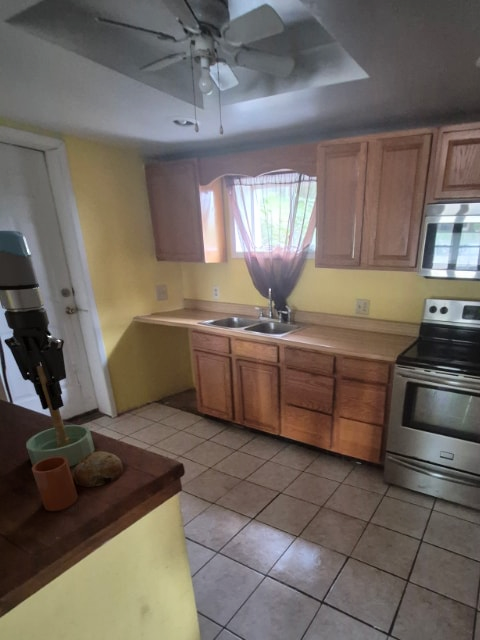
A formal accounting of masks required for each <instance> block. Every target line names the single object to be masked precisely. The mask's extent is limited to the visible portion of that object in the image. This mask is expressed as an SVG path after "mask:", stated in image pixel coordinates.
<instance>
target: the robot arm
mask: <svg viewBox="0 0 480 640" xmlns="http://www.w3.org/2000/svg"><path fill="white" fill-rule="evenodd" d="M32 256H33V254H32V252H31V250H30V247H29V244H28V241H27V238H26V236H25V235H24V234H23V233H22V232H20V231H18V230H0V305H1V306H0V307H1V308H2V309H4V310H5V311H4V313H3V314H4V318H5V321H6V324H7V327H8V328H9V329H11V330H12V336H11V337H8V338H5V339H4V340H3V341H4V344H5V345H6V346H7V347H8V349H9V350H10V352H11V355H12V357H13V359H14V361H15V364H16V366H17V368H18V370H19V373H20V375H21V377H22V379H23V380H24V381H30V382H31V384H33V388H34V390H35V394H36V395H37V396H38V398H39V401H40V405H41V409H42V410H49V408H48V405H47V401H46V398H45V395H44V391H43V388H42V384H41V381H40V378H39V374H38V371H37V367H38V366H42V368H43V371H44V374H45V376H46V379H47V381H48V382H47V383H45V386H46V389H47V392H48V396H49V399H50V403H51V406H52V409H53V410H57V409H59V410H60V409H61V408H62V407H65V406H64V401H63V398H62V395H63V391H62V386H61V381H63V380H65V379H67V371H66V364H65V357H64V349H63V348H64V343H65V340H64V339H63V338H57V337H54V336H53V335H52V333H51V331H50V329H49V324H50V320H49V316H48V313H47V309H45V308H44V305H45V302H44V299H43V295H42V291H41V287H40V284H39V282H38V278H37V277H38V276H37V274H36V269H35V265H34V260H33V257H32Z"/></svg>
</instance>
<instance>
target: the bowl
mask: <svg viewBox="0 0 480 640" xmlns="http://www.w3.org/2000/svg"><path fill="white" fill-rule="evenodd" d="M64 428H65V432H66V435H67V438H69V439H70V443H71V444H70V445H68V446H64V447H61V448H58V444H57V441H56V438H57V435H56V431H55V428H54V427H51V428H48V429H45V430H43V431H39V432H38V433H36V434H34V435H33V436H31V437H30V438H29V439H28V440H27V441H26V443H25V446H26V450H27V454H28V456H29V459H30V463H31V466H33V465H34V464H36V463H37V462H39V461H41V460H43V459H46V458H50V457H55V456H62V457H65V458H66V459H67V461H68V464H69V468H70V467H73V466H77V465H78V464H79V463H80V461H81V460H82V459H83V458H84V457H85V456H86V455H88V454H90V453H93V452H95V445H94V441H93V438H92V434H91V430H90V428H89V427H87V426H84V425H81V424H68V425H67V424H66V425H64Z"/></svg>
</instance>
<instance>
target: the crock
mask: <svg viewBox="0 0 480 640" xmlns="http://www.w3.org/2000/svg"><path fill="white" fill-rule="evenodd" d="M71 471H72V470H71V468H70V467H69V464H68V461H67V459H66V458H65V457H62V456H55V457H50V458H46V459H43V460H41V461H39V462H37V463H36V464H34V465H32V467H31V472H32V474H33V477H34V481H35V483H36V487H37V489H38V492H39V495H40V499H41V501H42V505H43V508H44V510H46V511H49V512H57V511H58V512H59V511H62V510H65V509H67V508H69V507H71V506H72V505H74V504H75V503H76V502H77V501H78V498H79V496H78V493H77V489H76V488H77V487H76V486H75V485H76V484H75V482H74V478H73V475H72V472H71Z"/></svg>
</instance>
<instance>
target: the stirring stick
mask: <svg viewBox="0 0 480 640" xmlns="http://www.w3.org/2000/svg"><path fill="white" fill-rule="evenodd" d="M37 371H38V374H39V378H40V381H41V384H42V388H43V391H44V395H45V398H46V401H47V405H48V411H49V415H50V418H51V422H52V425H53V428H55V431H56V435H57V438H56V441H57V444H58V448H61V447H64V446H68V445H70V444H71V443H70V439H69V438H67V435H66V432H65V428H64V426H65V424H64V421H63V418H62V415H61V410H60V408H59V409H57V410H53V409H52V406H51V403H50V399H49V396H48V392H47V389H46V386H45V383H47V382H48V381H47V379H46V376H45V374H44V371H43V368H42V366H38V367H37Z"/></svg>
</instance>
